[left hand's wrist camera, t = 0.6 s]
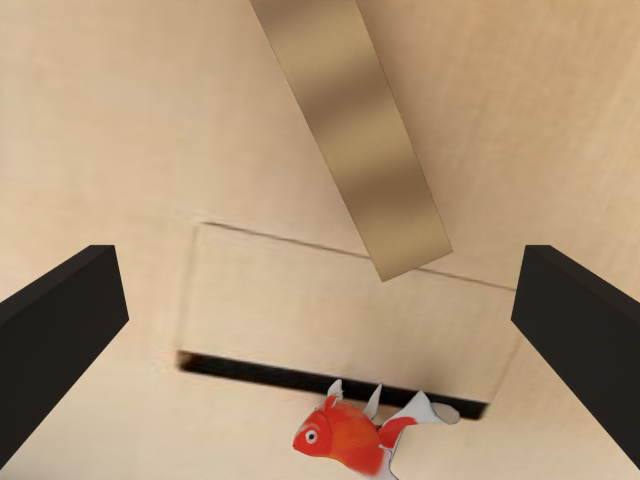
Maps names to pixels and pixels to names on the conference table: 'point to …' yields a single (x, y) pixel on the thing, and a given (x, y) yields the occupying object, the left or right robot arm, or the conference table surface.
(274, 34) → the bar
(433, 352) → the conference table surface
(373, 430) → the fish
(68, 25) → the conference table surface
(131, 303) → the conference table surface
